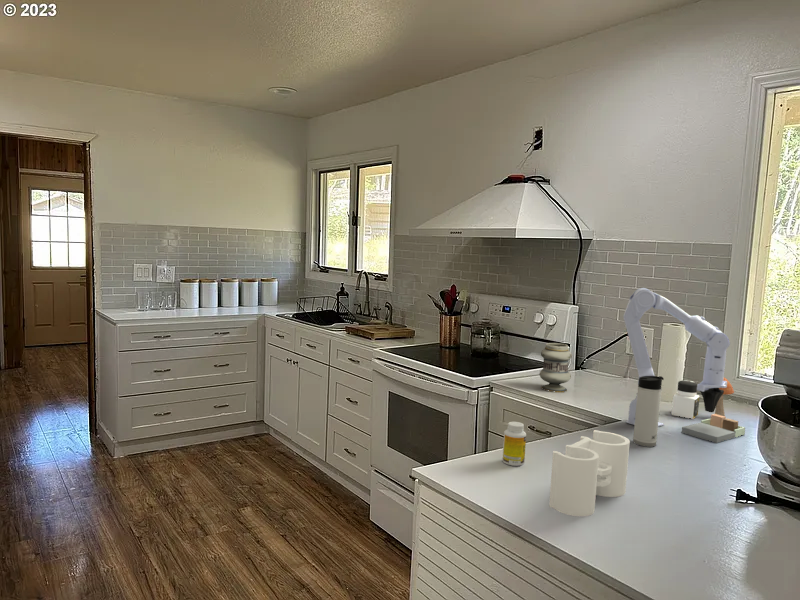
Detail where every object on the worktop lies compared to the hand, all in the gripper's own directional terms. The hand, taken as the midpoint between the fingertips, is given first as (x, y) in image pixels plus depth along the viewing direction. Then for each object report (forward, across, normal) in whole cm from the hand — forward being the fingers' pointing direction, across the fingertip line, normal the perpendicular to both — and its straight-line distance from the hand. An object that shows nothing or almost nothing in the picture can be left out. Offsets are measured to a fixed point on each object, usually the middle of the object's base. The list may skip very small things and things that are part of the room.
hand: (709, 411), depth 191 cm
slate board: (+6, -4, -2) cm, 8 cm away
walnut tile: (+4, +3, -5) cm, 7 cm away
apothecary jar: (+7, -2, +60) cm, 61 cm away
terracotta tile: (+4, +5, 0) cm, 6 cm away
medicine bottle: (+7, +12, +14) cm, 20 cm away
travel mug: (+7, -30, +2) cm, 31 cm away
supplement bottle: (+7, -77, +10) cm, 78 cm away
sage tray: (+6, +5, -2) cm, 8 cm away
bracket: (+7, -77, -14) cm, 79 cm away
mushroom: (+7, +19, +6) cm, 21 cm away
